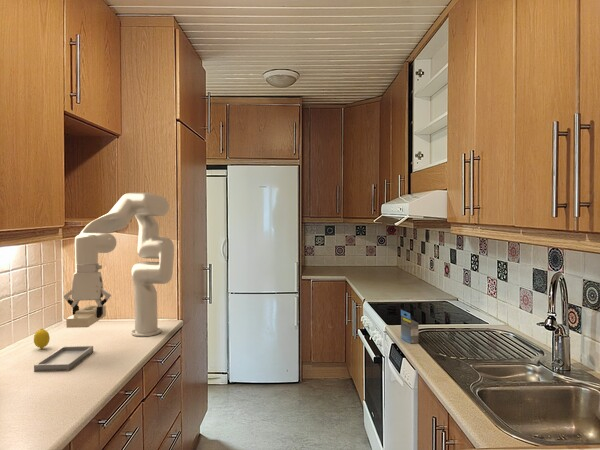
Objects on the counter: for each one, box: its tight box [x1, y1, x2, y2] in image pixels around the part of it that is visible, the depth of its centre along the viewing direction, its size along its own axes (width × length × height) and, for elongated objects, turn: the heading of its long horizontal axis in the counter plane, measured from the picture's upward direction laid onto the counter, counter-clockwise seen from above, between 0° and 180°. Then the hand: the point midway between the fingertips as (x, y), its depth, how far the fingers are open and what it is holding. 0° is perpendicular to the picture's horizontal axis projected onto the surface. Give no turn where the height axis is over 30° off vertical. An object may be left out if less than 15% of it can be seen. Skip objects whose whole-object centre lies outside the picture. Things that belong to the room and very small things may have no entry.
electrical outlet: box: [65, 304, 107, 329], centre depth 180 cm, size 7×4×18 cm
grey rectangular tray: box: [33, 345, 94, 372], centre depth 181 cm, size 23×12×2 cm, turn 3°
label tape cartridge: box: [400, 309, 419, 345], centre depth 205 cm, size 9×4×12 cm, turn 15°
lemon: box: [33, 328, 51, 350], centre depth 196 cm, size 6×6×8 cm
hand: (88, 317), depth 181 cm, fingers closed on electrical outlet, 7 cm apart
